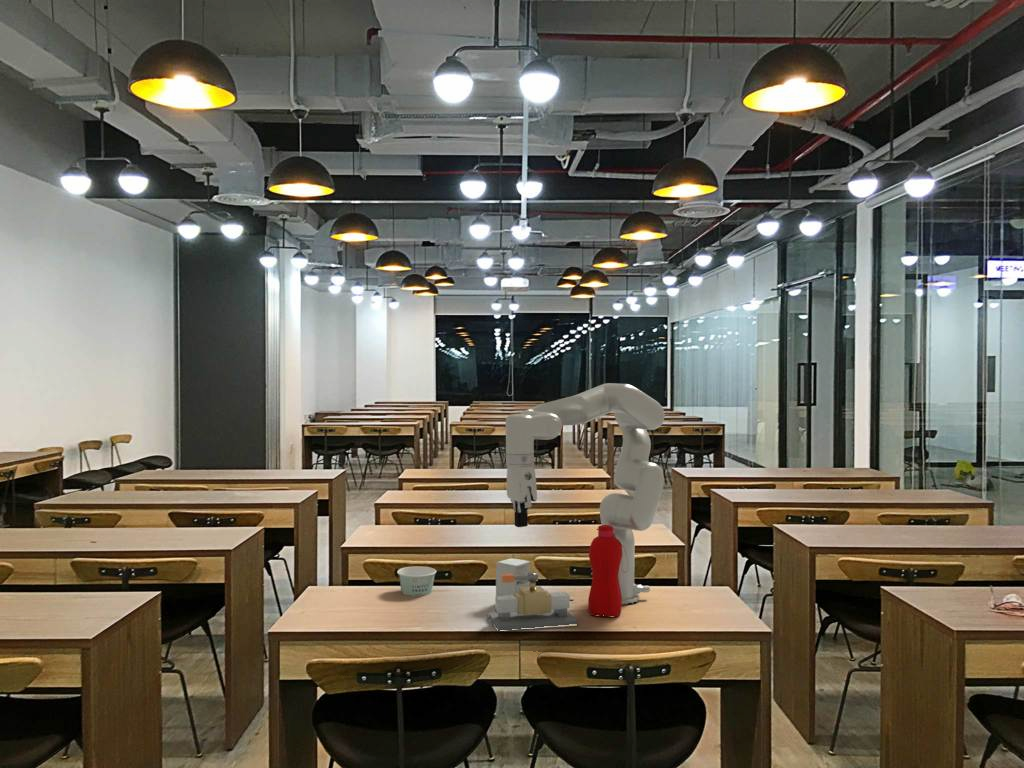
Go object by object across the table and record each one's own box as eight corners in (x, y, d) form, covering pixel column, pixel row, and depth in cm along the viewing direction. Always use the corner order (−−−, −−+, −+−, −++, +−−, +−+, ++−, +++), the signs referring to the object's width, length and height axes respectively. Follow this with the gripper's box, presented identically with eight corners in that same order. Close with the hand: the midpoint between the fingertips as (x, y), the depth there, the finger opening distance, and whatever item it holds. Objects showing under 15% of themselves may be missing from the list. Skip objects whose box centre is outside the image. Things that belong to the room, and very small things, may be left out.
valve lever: (536, 578, 240) (536, 572, 240) (539, 581, 237) (539, 574, 237) (500, 580, 238) (500, 573, 238) (502, 582, 235) (502, 576, 235)
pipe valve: (564, 611, 244) (564, 576, 243) (570, 617, 238) (571, 581, 238) (494, 615, 239) (494, 580, 238) (499, 622, 233) (499, 586, 233)
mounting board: (564, 613, 247) (564, 608, 247) (577, 626, 235) (577, 620, 235) (488, 618, 242) (488, 613, 241) (498, 631, 230) (498, 626, 230)
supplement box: (515, 609, 250) (515, 565, 250) (494, 604, 255) (495, 561, 254) (530, 603, 256) (530, 560, 256) (510, 599, 261) (510, 557, 260)
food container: (405, 599, 260) (406, 577, 260) (391, 589, 270) (391, 568, 270) (442, 594, 266) (442, 573, 265) (426, 585, 276) (426, 564, 276)
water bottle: (626, 619, 241) (627, 529, 240) (586, 617, 243) (587, 528, 243) (628, 610, 250) (629, 523, 250) (590, 607, 253) (591, 521, 252)
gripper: (545, 461, 233) (546, 530, 234) (520, 455, 246) (521, 519, 247) (519, 464, 229) (521, 533, 230) (496, 457, 243) (497, 522, 244)
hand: (521, 526), depth 239 cm, fingers closed
